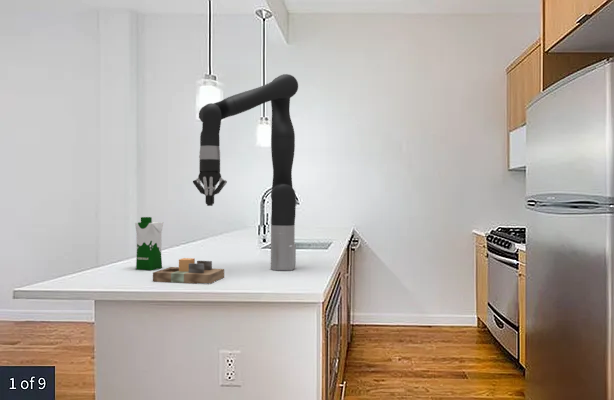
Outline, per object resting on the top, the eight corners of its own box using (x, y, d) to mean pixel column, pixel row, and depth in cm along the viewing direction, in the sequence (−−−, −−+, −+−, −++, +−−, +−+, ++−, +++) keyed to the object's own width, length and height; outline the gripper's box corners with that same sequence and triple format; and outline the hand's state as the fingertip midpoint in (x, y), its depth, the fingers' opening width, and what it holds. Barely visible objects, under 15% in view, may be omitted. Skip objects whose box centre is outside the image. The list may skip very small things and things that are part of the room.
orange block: (194, 270, 193) (194, 258, 193) (189, 271, 189) (189, 259, 189) (183, 269, 194) (183, 258, 194) (178, 271, 190) (178, 259, 190)
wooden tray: (224, 277, 196) (224, 260, 196) (209, 284, 182) (209, 265, 182) (171, 275, 200) (171, 258, 200) (152, 281, 186) (152, 263, 186)
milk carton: (132, 269, 213) (132, 217, 212) (146, 266, 221) (146, 216, 221) (152, 271, 210) (152, 217, 209) (165, 267, 218) (165, 216, 218)
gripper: (230, 159, 208) (230, 205, 208) (196, 159, 211) (196, 205, 211) (223, 158, 201) (223, 206, 201) (188, 158, 203) (188, 205, 204)
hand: (209, 205), depth 206 cm, fingers closed
